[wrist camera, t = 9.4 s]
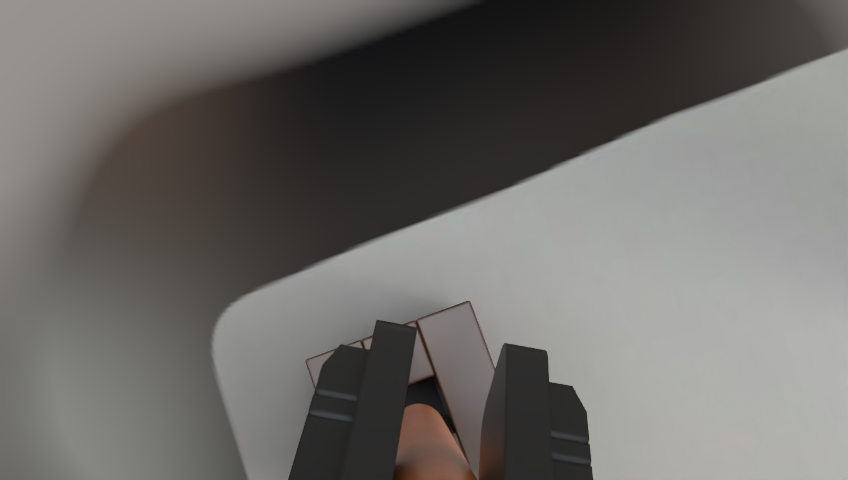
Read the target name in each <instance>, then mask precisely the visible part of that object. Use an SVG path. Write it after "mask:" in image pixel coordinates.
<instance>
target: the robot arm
mask: <svg viewBox="0 0 848 480" xmlns="http://www.w3.org/2000/svg"><path fill="white" fill-rule="evenodd" d="M416 334H417V327H413V326H408V325H402V324H397V323H391V322H386V321H380V320H377V321H376V325H375V329H374V333H373V338H372V342H371V346H370V350H369V349H363V348H358V347H352V346H347V345H340V346H339V347H338V348H337V349H336V350H335V351H334V353H333V354H332V355H331V356H330V357H329V358H328V359H327V360H326V361H325V362H324V363H323V364H322V367H321V371H320V374H319V378H318V381H317V384H316V388H315V392H314V395H313V398H312V401H311V405H310V408H309V412H308V415H307V418H306V421H305V425H304V428H303V432H302V435H301V438H300V442H299V445H298V448H297V452H296V455H295V459H294V462H293V465H292V469H291V472H290V475H289V479H288V480H393V476H394V470H395V463H396V457H397V451H398V445H399V439H400V432H401V426H402V420H403V414H404V408H405V402H406V395H407V389H408V383H409V377H410V371H411V364H412V358H413V352H414V346H415V340H416ZM588 441H589V433H588V422H587V412H586V410H585V408H584V407H583V405H582V403H581V401H580V399H579V397H578V396H577V394H576V392H575V390H574V388H573V387H572V386H568V385H563V384H557V383H552V382H549V372H548V355H547V351H546V350H540V349H535V348H529V347H524V346H518V345H513V344H507V343H504V345H503V347H502V349H501V353H500V356H499V359H498V363H497V366H496V370H495V373H494V376H493V380H492V383H491V387H490V390H489V393H488V397H487V400H486V404H485V409H484V414H483V420H482V428H481V440H480V459H479V478H478V480H593V475H592V467H591V466H590V464H591V454H590V444H588Z"/></svg>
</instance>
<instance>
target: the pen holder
mask: <svg viewBox="0 0 848 480" xmlns="http://www.w3.org/2000/svg"><path fill="white" fill-rule="evenodd" d="M403 325H408V326H413V327H417V334H416V340H415V346H414V352H413V358H412V364H411V371H410V377H409V383H408V385H410V384H413V383H416V382H418V381H421V380H424V379H426V378H429V377H433V380H434V382H435V385H436V388H437V391H438V394H439V396H440V399H441V402H442V405H443V407H444V410H445V413H446V416H443V417H442V419H443V420H444V422H445V424H446V426H447V427H448V429H449V431H450V433H451V434H452V436H453V438H454V440H455V441H456V443H457V445H458V446H459V448H460V450H461V452H462V453H463V455H464V457H465V459H466V460H467V462H468V464H469V466H470V467H471V469H472V471H473V473H474V474H475V476H476V478H477V480H478V478H479V459H480V440H481V428H482V420H483V414H484V409H485V404H486V400H487V397H488V393H489V390H490V387H491V383H492V380H493V376H494V373H495V370H496V369H495V367H494V364H493V361H492V359H491V356H490V353H489V351H488V348H487V345H486V343H485V340H484V337H483V335H482V332H481V329H480V326H479V324H478V321H477V318H476V316H475V313H474V310H473V308H472V305H471V302H470V301H466V302H463V303H460V304H458V305H455V306H452V307H449V308H447V309H444V310H441V311H438V312H436V313H433V314H430V315H427V316H425V317H422V318H419V319H417V320H416V321H411V322H408V323H406V324H403ZM372 338H373V336H370V337H367V338H365V339H363V340H362V341H361V340H359V341H356V342H353V343H351V344H348V345H347V346H352V347H358V348H363V349H369V350H370V346H371V342H372ZM335 350H336V349H334V350H332V351H329V352H326V353H323V354H321V355H318V356H315V357H312V358H310V359H307V360H306V364H307V367H308V370H309V373H310V376H311V379H312V382H313V385H314V388H316V384H317V381H318V378H319V374H320V371H321V367H322V364H323V363H324V362H325V361H326V360H327V359H328V358H329V357H330V356H331V355H332V354H333V353H334V351H335Z"/></svg>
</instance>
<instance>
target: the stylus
mask: <svg viewBox="0 0 848 480" xmlns="http://www.w3.org/2000/svg"><path fill="white" fill-rule="evenodd" d="M393 480H477V478H476V476H475V474H474V473H473V471H472V469H471V467H470V466H469V464H468V462H467V460H466V459H465V457H464V455H463V453H462V452H461V450H460V448H459V446H458V445H457V443H456V441H455V440H454V438H453V436H452V434H451V433H450V431H449V429H448V427H447V426H446V424H445V422H444V420H443V419H442V417H441V415H440V414H439V413H438V412H437V411H436V410H435V409H434V408H432V407H431V406H428V405H425V404H412V405H409V406H407V407H405V408H404V414H403V420H402V426H401V432H400V439H399V445H398V451H397V457H396V463H395V470H394V476H393Z"/></svg>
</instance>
